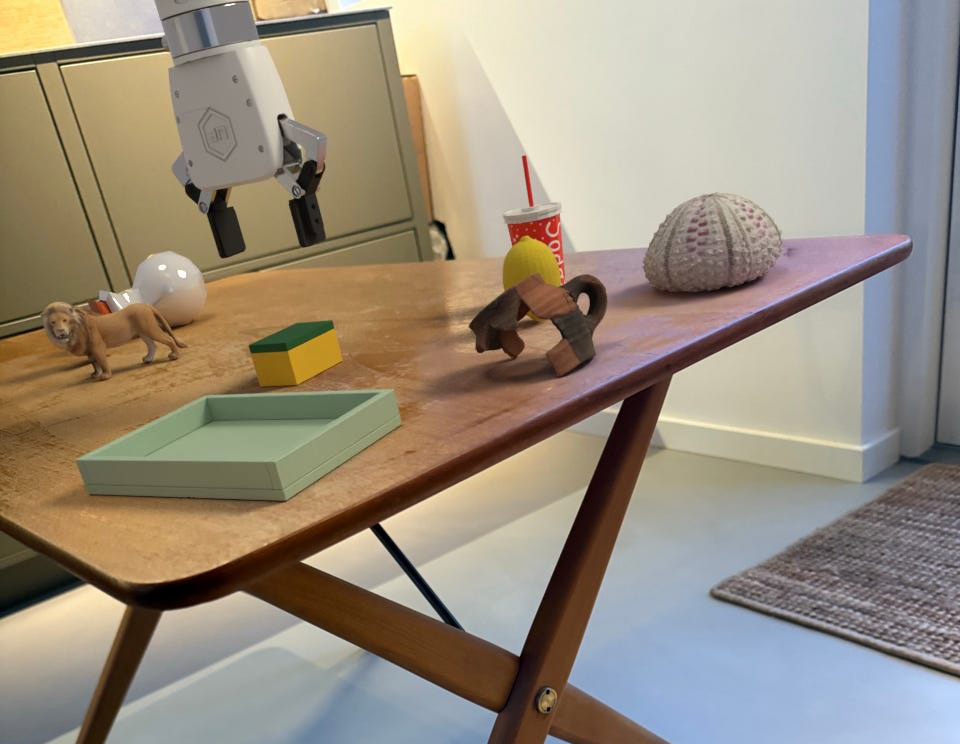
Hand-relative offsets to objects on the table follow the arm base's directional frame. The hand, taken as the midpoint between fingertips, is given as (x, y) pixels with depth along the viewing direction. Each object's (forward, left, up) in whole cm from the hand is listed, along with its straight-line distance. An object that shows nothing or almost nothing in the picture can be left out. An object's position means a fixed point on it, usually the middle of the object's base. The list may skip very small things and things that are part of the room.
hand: (272, 249), depth 94 cm
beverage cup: (+15, +24, -12) cm, 30 cm away
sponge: (0, 0, -12) cm, 12 cm away
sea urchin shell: (+33, +25, -12) cm, 43 cm away
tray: (+11, -22, -12) cm, 27 cm away
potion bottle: (-42, +23, -12) cm, 50 cm away
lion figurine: (-29, +4, -12) cm, 32 cm away
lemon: (+19, +14, -12) cm, 26 cm away
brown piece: (+27, 0, -12) cm, 29 cm away
